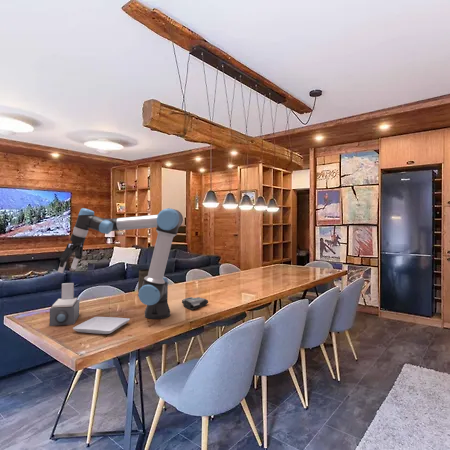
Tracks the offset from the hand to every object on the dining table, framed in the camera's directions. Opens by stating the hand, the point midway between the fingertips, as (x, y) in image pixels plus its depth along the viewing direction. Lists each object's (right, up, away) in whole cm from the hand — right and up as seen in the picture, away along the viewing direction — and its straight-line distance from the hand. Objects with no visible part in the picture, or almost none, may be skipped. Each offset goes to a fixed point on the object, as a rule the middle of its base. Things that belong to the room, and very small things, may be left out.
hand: (66, 270), depth 183 cm
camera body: (0, -28, -2) cm, 28 cm away
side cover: (-1, -18, -1) cm, 18 cm away
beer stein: (+31, -28, +62) cm, 75 cm away
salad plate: (+25, -29, -14) cm, 41 cm away
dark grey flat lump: (+68, -29, +35) cm, 82 cm away
